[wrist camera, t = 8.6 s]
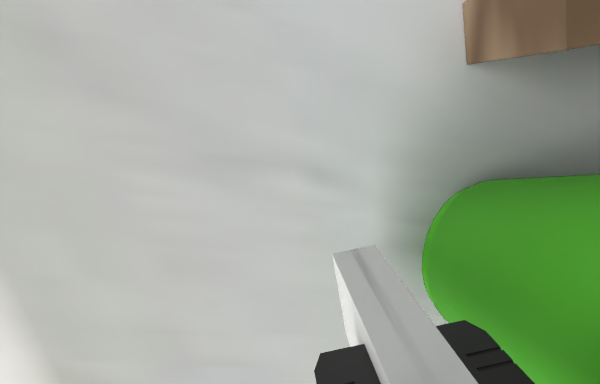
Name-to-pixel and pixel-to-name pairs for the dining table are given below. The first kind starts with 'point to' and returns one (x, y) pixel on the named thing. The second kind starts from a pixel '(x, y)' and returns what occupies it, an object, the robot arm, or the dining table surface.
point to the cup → (524, 271)
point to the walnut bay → (528, 27)
